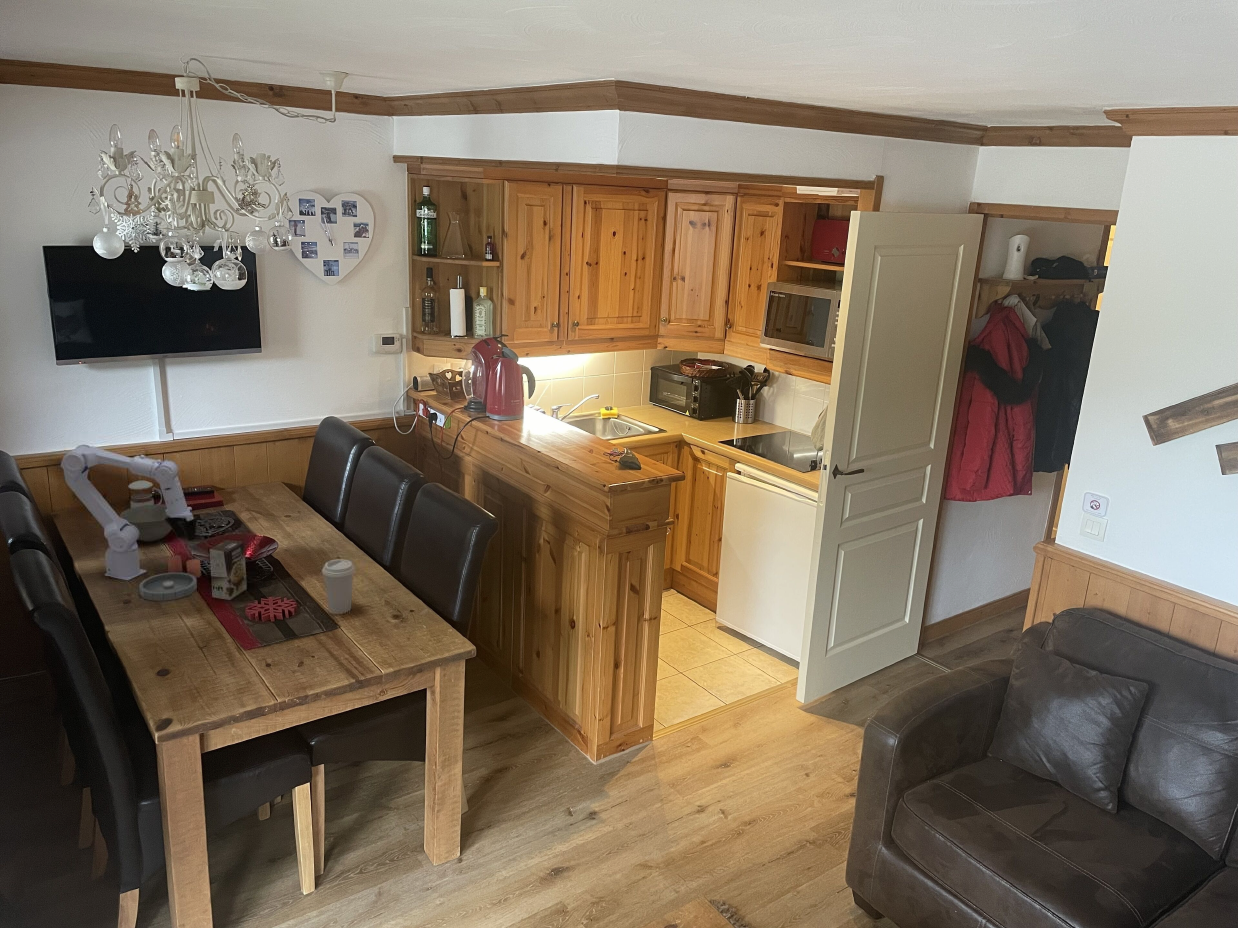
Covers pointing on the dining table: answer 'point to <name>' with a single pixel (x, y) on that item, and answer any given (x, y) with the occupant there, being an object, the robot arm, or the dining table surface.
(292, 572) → the dining table surface
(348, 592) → the coffee cup
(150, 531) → the bowl
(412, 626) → the dining table surface
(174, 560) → the bead
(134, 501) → the french press
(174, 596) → the round tray
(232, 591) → the coffee box
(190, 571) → the bead
